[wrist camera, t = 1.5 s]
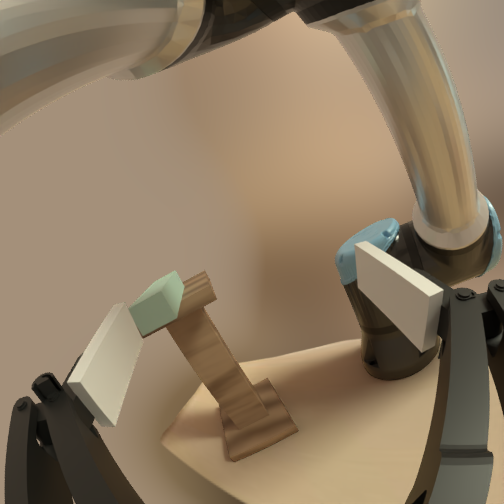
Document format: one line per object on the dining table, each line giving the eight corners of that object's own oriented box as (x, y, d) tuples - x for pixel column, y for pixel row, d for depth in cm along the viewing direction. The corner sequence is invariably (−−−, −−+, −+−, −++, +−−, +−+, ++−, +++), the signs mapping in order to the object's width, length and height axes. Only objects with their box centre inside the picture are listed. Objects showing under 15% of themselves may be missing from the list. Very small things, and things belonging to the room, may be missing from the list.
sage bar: (176, 318, 25) (160, 290, 25) (142, 336, 24) (126, 309, 24) (184, 286, 44) (175, 270, 43) (163, 297, 43) (154, 281, 43)
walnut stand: (298, 430, 37) (209, 285, 34) (234, 462, 35) (128, 328, 32) (270, 382, 55) (204, 270, 51) (222, 407, 53) (150, 300, 49)
